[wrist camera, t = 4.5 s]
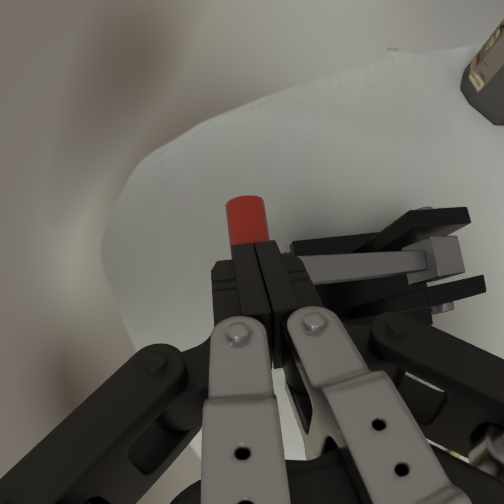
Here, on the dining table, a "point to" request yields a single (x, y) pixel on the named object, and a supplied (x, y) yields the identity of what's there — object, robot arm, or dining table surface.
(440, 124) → the dining table surface
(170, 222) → the dining table surface
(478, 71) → the liquor
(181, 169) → the dining table surface
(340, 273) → the lever
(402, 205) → the dining table surface
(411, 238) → the switch bracket
